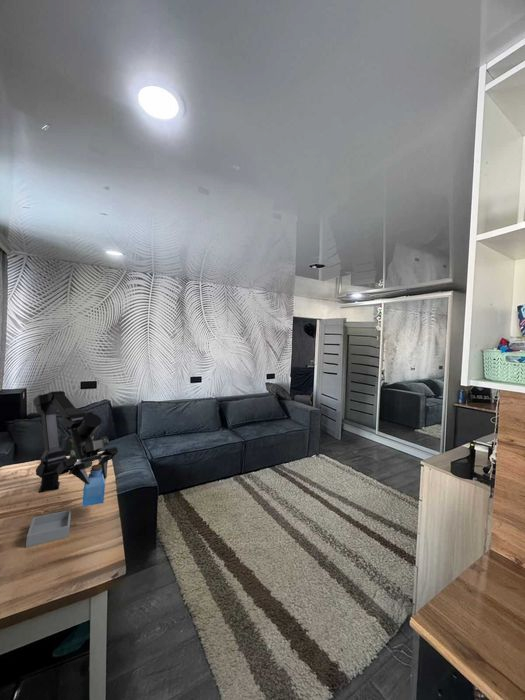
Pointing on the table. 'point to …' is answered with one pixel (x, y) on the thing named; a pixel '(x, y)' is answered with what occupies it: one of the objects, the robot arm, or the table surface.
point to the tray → (48, 528)
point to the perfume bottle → (94, 487)
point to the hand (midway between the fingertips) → (97, 481)
